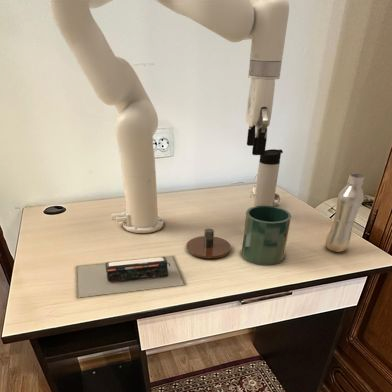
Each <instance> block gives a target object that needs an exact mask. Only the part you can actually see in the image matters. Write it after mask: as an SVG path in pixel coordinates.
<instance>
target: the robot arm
mask: <svg viewBox="0 0 392 392" xmlns="http://www.w3.org/2000/svg"><path fill="white" fill-rule="evenodd" d="M112 1H113V0H48V5H49V9H50V13H51V16H52V18H53V20H54V23H55V25H56V27H57V29H58V31H59V33H60V35H61V36H62V38H63V39H64V42H65V43H66V45H67V47H68V48H69V49H70V51H71V53H72V55H73V57H74V58H75V60H76V62H77V64H78V66H79V67H80V69H81V70H82V72H83V74H84V76H85V77H86V79H87V81H88V83H89V84H90V86H91V87H92V89H93V91H94V93H95V94H96V96H97V98H98V99H99V100H100V101H101V102H102V103H104V104H105V105H107V106H114V107H115V108H116V110H117V112H118V116H117V117H116V120H115V121H116V122H115V137H116V138H115V139H116V143H117V148H118V153H119V159H120V166H121V174H122V182H123V183H122V184H123V191H124V192H123V193H124V201H125V208H124V211H122V212H119V213H118V212H113V213H112V212H111V218H112V221H116V222H117V223H122V227H123V228H124V230H126V231H128V232H130V233H133V234H134V233H135V234H149V233H153V232H154V233H155V232H157V231H159V230H160V229H162V228H163V226H164V220H163V219H162V217H160V216H159V212H158V211H159V210H158V209H159V208H158V192H157V171H156V158H155V149H154V138H153V137H154V135H156V132H157V130H158V126H159V118H158V114H157V111H156V109H155V106H154V104H153V102H152V101H151V99H150V96H149V95H148V93H147V91H146V89H145V87H144V86H143V85H144V84H143V83H142V82H141V80H140V78H139V76H138V74H137V72H136V71H135V69H134V68H133V66H132V65H131V64H130V63H129V62H128V61H127V60H126V59H124V58H123V57H120V56H117V55H115V53H114V51H113V50H112V48H111V46H110V45H109V42H108V41H107V39H106V37H105V34H104V32H103V31H102V29H101V27H100V25H98V23H97V22H96V20H95V19H94V17H93V14H92V12H91V9H97V8H100V7H103V6H105V5H107V4H108V3H110V2H112ZM154 1H155V2H157V3H159V4H160V5H162V6H163V7H165V8H167V9H169V10H171V11H172V12H174V13H176V14H178V15H181V16H184V17H186V18H188V19H190V20H192V21H193V22H195V23H197V24H198V25H200V26H202V27H204V28H206V29H207V30H209V31H211V32H212V33H214V34H216V35H218V36H220V37H221V38H223V39H225V40H226V41H228V42H231V43H239V42H242V41H246V40H251V45H250V56H249V65H248V67H249V68H248V75H247V76H248V77H247V78H250V83H249V91H248V97H247V106H246V111H245V112H246V113H245V121H246V123H247V125H248V129H247V139H246V145H247V146H249V147H252V151H251V155H252V156H260V155H264V154H265V150H266V147H267V141H268V140H267V138H268V127H269V126H270V123H271V119H272V112H273V105H274V96H275V86H276V80H279V79H280V77H281V71H282V63H283V56H284V51H285V42H286V34H287V28H288V21H289V15H290V4H289V1H288V0H154Z"/></svg>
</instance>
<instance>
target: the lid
mask: <svg viewBox="0 0 392 392" xmlns="http://www.w3.org/2000/svg"><path fill="white" fill-rule="evenodd" d="M185 247H186V251H187V252H188V253H189V254H190V255H193V256H195V257H198V258H201V259H202V258H203V259H216V258H217V259H218V258H222V257H224V256H226V255H228V254H229V253H230V252H231V251H232V245H231V243H230V242H229V241H228V240H226V239H224V238H222V237H219V236H215V229H213V228H211V227H210V228H209V227H208V228H205V229H204V234H203V235H201V236H196V237H193V238H191V239H189V240H188V241H187V242H186V244H185Z"/></svg>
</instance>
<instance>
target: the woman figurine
mask: <svg viewBox="0 0 392 392" xmlns="http://www.w3.org/2000/svg"><path fill="white" fill-rule="evenodd" d="M255 191H256V185H254V186H253V188H252V194H250V195H249V196H248V197H249V198H252V197H253V196H255ZM280 202H281V197H280V195H279V192H275V196H274V203H273V206H274V207H277V206H278V205H279V204H280Z"/></svg>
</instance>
